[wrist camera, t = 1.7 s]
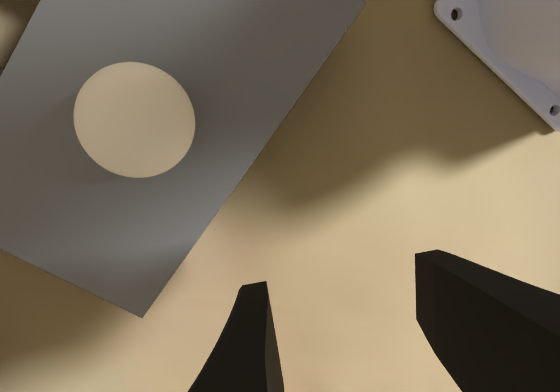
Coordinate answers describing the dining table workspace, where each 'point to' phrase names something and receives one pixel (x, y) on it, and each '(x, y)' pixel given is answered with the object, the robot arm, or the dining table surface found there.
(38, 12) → the deck
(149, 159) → the ball
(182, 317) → the dining table surface
